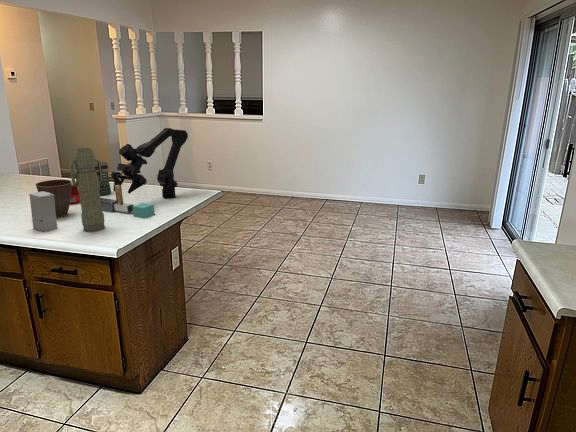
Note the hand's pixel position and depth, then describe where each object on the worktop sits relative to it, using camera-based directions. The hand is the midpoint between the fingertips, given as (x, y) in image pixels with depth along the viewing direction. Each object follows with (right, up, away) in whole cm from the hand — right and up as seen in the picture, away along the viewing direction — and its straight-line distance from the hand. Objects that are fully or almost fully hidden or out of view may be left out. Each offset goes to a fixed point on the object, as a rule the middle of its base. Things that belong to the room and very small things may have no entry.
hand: (121, 192), depth 208 cm
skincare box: (-24, -17, -23) cm, 37 cm away
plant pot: (-28, -12, -5) cm, 31 cm away
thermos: (-3, -17, -23) cm, 29 cm away
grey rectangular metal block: (-10, -8, +5) cm, 14 cm away
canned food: (-32, -5, +16) cm, 36 cm away
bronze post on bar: (-4, -8, +2) cm, 10 cm away
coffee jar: (-24, 0, +34) cm, 42 cm away
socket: (+13, -11, -4) cm, 18 cm away
